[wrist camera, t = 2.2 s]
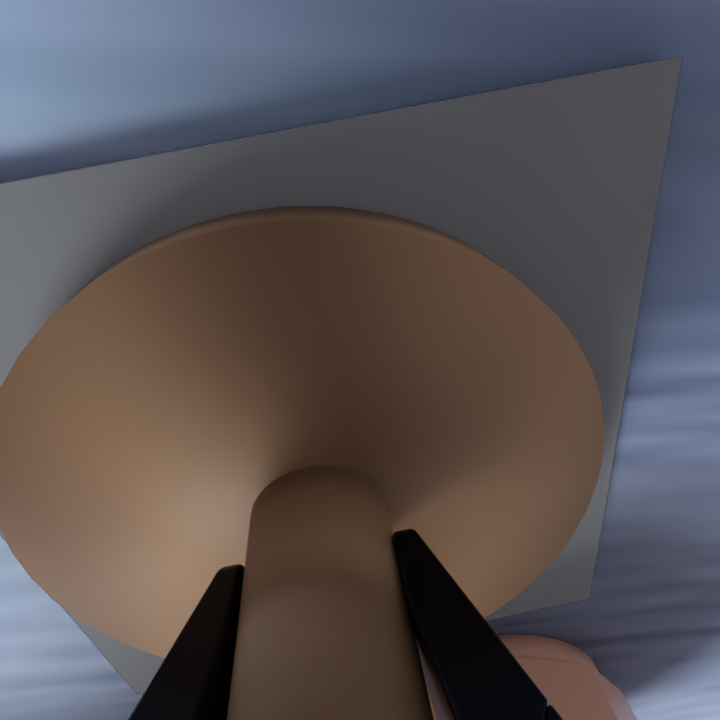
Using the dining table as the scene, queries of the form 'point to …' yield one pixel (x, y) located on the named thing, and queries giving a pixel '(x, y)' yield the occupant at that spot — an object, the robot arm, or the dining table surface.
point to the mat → (404, 200)
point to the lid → (296, 446)
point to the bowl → (566, 679)
